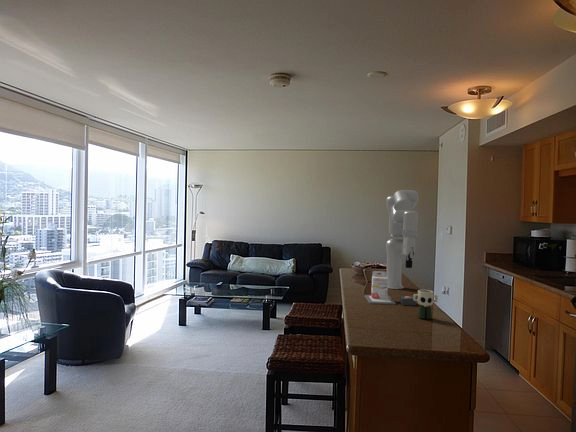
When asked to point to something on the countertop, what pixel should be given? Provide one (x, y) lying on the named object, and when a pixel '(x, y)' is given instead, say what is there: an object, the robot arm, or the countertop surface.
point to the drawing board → (379, 300)
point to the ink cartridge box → (379, 285)
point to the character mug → (425, 303)
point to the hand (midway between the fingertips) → (408, 267)
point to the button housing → (407, 301)
